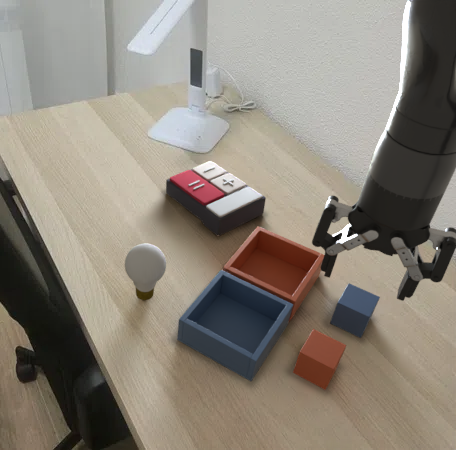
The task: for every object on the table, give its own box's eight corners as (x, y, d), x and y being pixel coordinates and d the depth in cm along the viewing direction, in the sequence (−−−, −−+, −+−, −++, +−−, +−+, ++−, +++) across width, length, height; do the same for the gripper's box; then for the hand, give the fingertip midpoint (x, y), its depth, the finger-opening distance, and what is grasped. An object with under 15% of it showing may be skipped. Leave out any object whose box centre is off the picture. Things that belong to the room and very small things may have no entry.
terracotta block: (338, 365, 75) (346, 345, 72) (325, 390, 72) (333, 369, 69) (306, 349, 76) (313, 328, 73) (292, 372, 73) (299, 351, 70)
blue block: (370, 317, 81) (380, 296, 78) (360, 338, 78) (369, 317, 75) (340, 303, 83) (348, 282, 80) (329, 323, 80) (337, 302, 77)
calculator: (211, 157, 105) (267, 194, 96) (209, 176, 108) (264, 213, 98) (165, 176, 100) (220, 216, 91) (164, 195, 103) (218, 236, 93)
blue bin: (287, 325, 80) (293, 304, 77) (251, 381, 72) (256, 361, 69) (217, 290, 84) (220, 269, 81) (176, 339, 77) (178, 319, 74)
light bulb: (147, 277, 86) (148, 229, 79) (172, 299, 83) (175, 251, 76) (117, 294, 83) (115, 246, 76) (141, 318, 80) (142, 270, 73)
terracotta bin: (319, 275, 87) (325, 255, 84) (289, 322, 80) (295, 301, 77) (253, 246, 92) (257, 225, 89) (219, 287, 85) (222, 267, 82)
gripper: (330, 174, 55) (298, 285, 66) (485, 214, 51) (424, 326, 62) (343, 138, 60) (311, 247, 71) (484, 172, 56) (428, 281, 67)
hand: (363, 283), depth 66 cm, fingers open, 8 cm apart
